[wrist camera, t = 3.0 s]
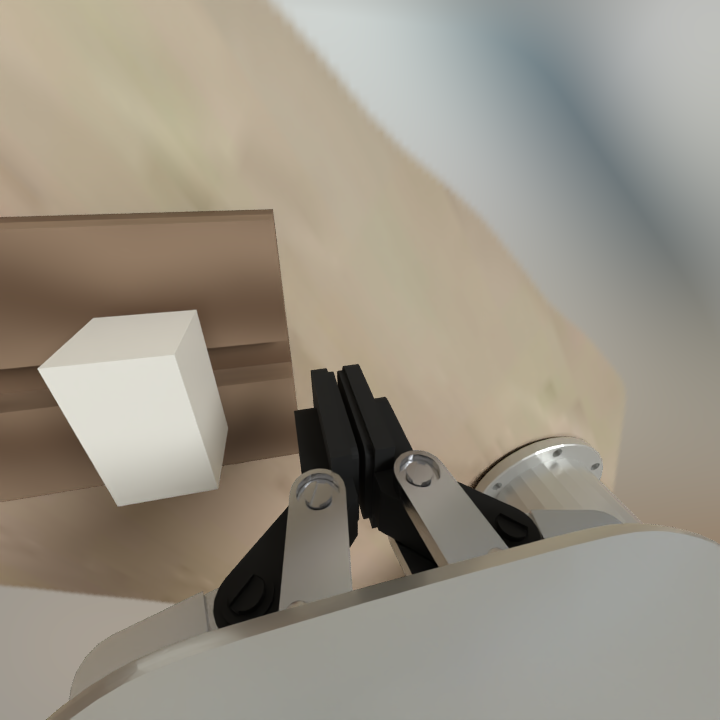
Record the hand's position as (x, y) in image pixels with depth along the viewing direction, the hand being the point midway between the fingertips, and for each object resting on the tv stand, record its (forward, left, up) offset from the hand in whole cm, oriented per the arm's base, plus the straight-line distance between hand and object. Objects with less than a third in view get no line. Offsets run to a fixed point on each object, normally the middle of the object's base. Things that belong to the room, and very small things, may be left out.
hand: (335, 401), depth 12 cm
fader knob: (-1, +6, -5) cm, 8 cm away
